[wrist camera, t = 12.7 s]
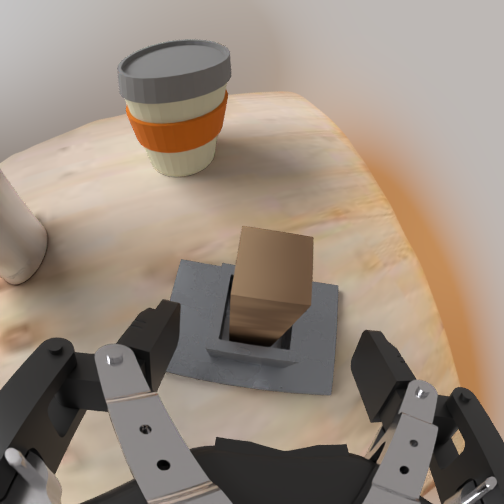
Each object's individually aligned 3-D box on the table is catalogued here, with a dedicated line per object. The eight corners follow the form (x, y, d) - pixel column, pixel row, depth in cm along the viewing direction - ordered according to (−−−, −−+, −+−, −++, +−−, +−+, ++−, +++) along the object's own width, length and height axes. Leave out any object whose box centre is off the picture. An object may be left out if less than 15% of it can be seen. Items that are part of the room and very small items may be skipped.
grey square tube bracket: (156, 369, 23) (135, 362, 17) (182, 263, 28) (172, 229, 22) (327, 395, 23) (357, 394, 17) (334, 289, 28) (360, 261, 22)
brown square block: (228, 341, 22) (230, 294, 12) (234, 302, 24) (242, 225, 13) (270, 347, 22) (311, 305, 12) (274, 308, 24) (313, 237, 13)
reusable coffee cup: (221, 190, 33) (223, 78, 20) (126, 185, 32) (93, 86, 19) (232, 129, 39) (238, 39, 26) (153, 127, 38) (140, 42, 25)
